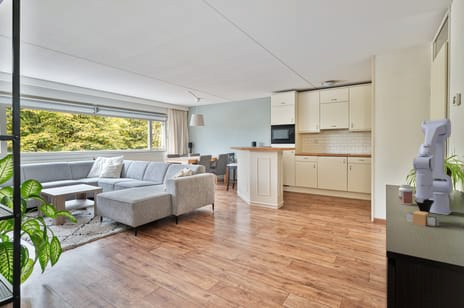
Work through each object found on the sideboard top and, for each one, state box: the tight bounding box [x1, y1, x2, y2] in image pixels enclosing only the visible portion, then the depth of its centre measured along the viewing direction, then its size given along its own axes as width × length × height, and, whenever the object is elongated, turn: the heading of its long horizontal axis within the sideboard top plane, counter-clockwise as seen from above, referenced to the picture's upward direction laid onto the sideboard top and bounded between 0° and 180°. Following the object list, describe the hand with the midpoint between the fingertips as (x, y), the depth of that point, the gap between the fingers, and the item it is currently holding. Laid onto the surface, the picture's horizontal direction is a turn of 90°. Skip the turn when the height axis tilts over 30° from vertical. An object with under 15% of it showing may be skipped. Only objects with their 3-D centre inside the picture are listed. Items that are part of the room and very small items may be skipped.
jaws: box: [404, 211, 440, 227], centre depth 99 cm, size 4×11×3 cm, turn 38°
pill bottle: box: [398, 183, 413, 206], centre depth 133 cm, size 6×6×11 cm
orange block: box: [412, 210, 430, 227], centre depth 98 cm, size 6×4×4 cm
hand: (424, 216), depth 102 cm, fingers closed
